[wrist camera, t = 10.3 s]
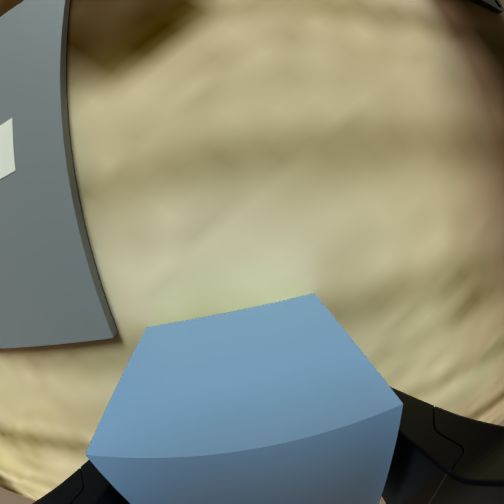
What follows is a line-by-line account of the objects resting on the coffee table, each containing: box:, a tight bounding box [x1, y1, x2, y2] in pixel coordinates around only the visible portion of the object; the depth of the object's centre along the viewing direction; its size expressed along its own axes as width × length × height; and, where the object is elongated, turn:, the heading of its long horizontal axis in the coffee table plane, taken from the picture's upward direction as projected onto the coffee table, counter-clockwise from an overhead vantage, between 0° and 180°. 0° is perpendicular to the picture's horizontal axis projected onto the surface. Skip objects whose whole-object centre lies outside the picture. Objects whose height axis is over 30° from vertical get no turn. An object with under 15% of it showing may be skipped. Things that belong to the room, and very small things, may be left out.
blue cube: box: [85, 293, 403, 504], centre depth 6 cm, size 5×5×5 cm
